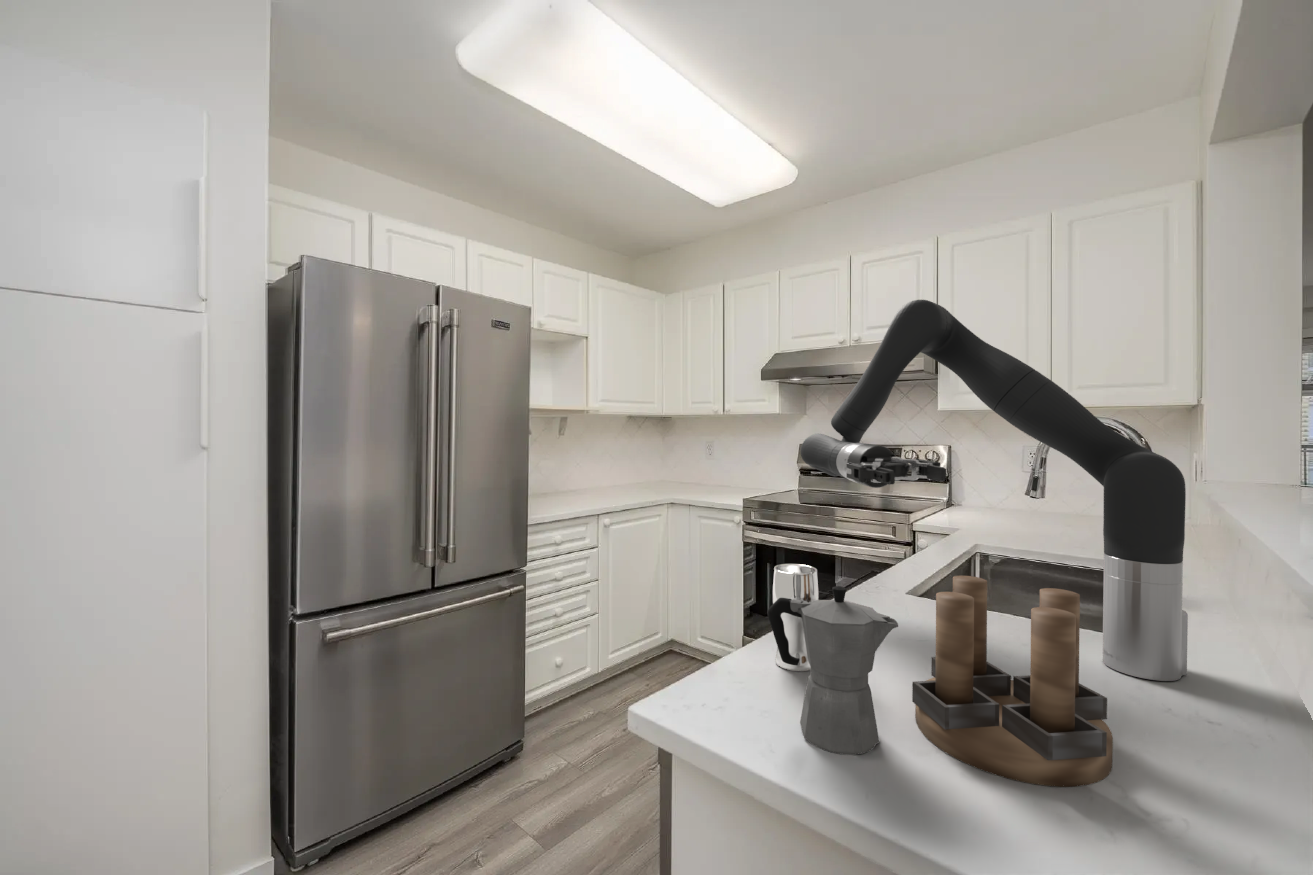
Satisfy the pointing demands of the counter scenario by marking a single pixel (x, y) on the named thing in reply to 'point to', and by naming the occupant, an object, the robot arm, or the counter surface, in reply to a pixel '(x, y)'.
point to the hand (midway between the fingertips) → (918, 476)
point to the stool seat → (1016, 700)
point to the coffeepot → (836, 669)
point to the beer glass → (799, 586)
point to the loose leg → (976, 617)
